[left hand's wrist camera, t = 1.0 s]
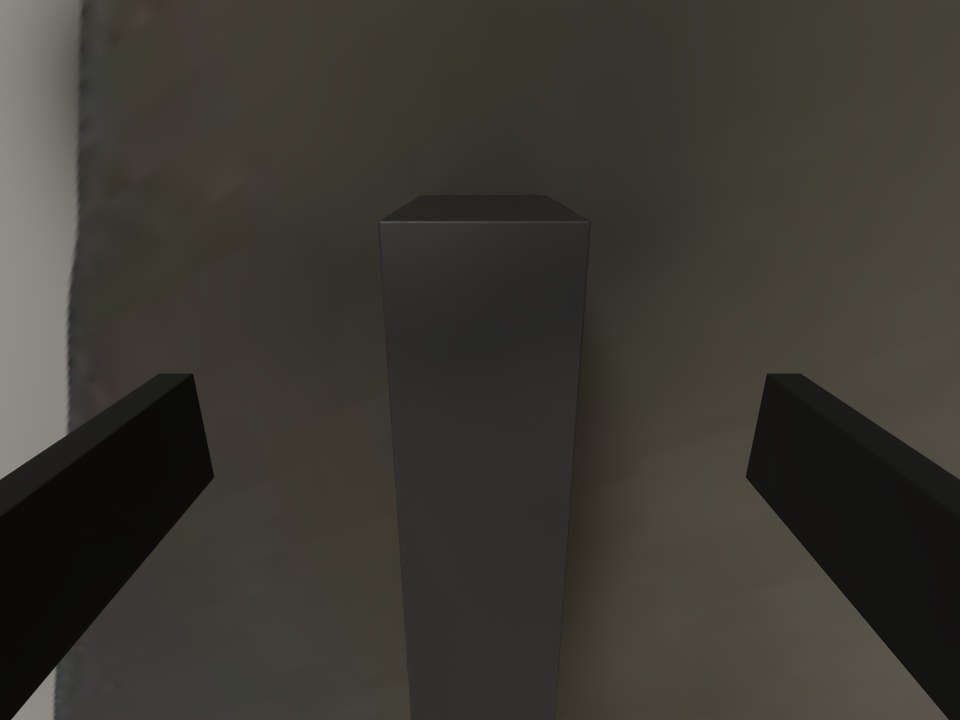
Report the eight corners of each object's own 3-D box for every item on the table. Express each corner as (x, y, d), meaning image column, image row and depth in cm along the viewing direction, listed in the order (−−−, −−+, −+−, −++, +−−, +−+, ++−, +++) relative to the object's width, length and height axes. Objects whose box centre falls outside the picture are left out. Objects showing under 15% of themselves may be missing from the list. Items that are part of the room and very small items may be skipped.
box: (419, 195, 25) (377, 220, 15) (547, 195, 25) (591, 220, 15) (437, 648, 36) (419, 844, 25) (527, 648, 36) (546, 844, 25)
